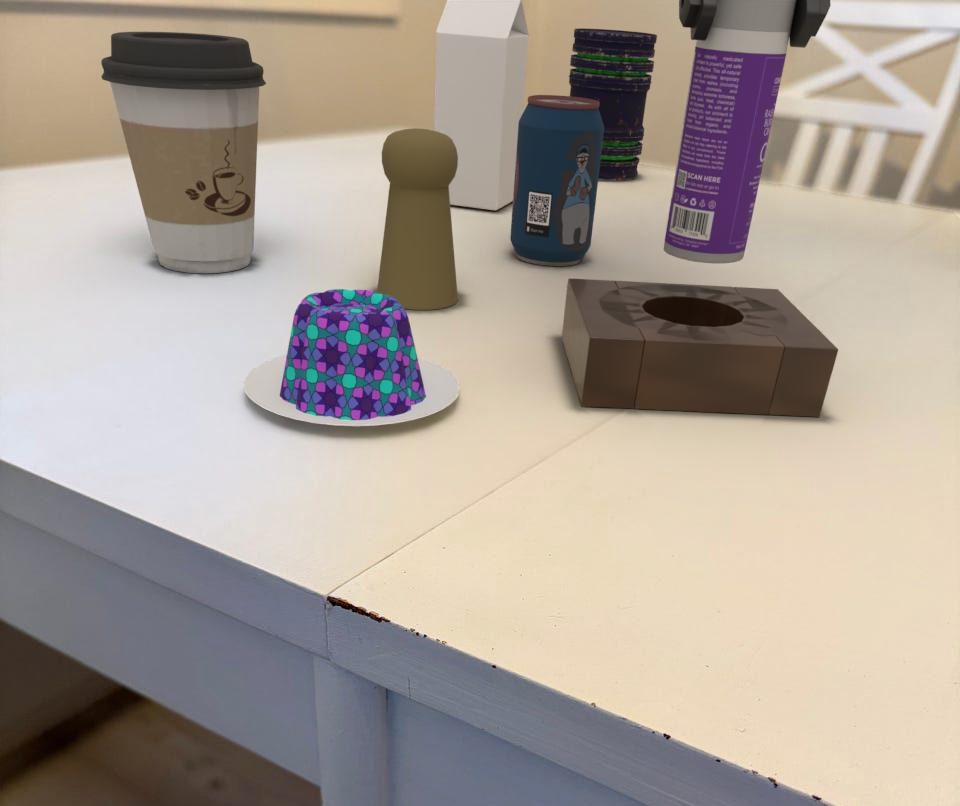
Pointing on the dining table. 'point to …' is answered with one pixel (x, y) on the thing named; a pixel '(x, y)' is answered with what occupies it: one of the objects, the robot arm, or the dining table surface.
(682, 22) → the robot arm
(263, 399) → the pudding
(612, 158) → the black striped cylinder
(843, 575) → the dining table surface
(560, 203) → the soda can
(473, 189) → the milk carton
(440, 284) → the cork
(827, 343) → the socket board
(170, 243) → the coffee cup
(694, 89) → the container
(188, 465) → the dining table surface
